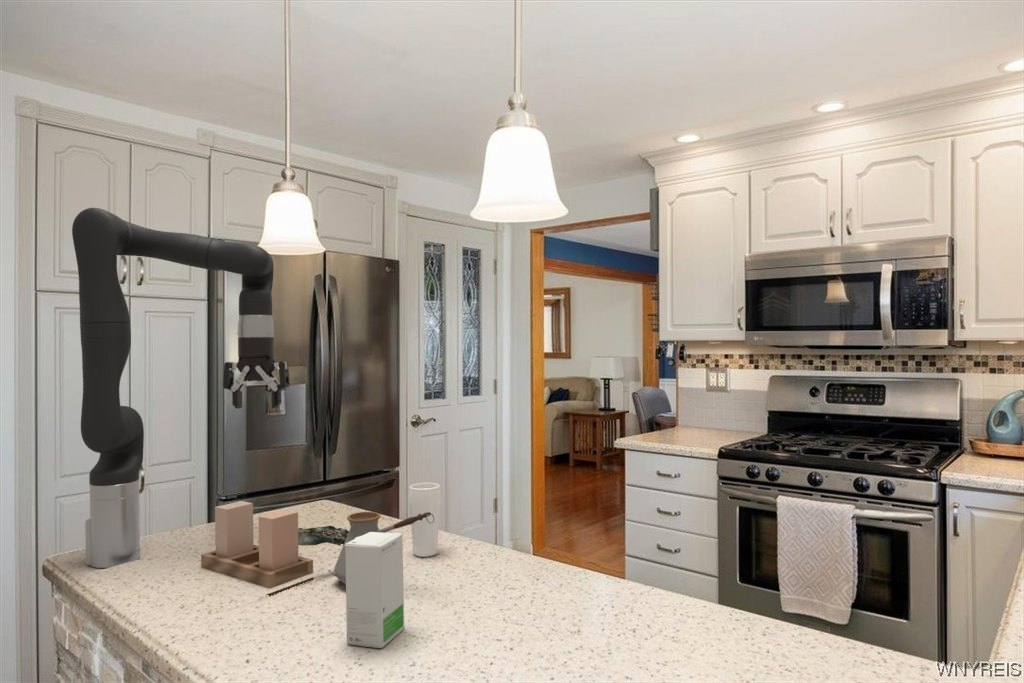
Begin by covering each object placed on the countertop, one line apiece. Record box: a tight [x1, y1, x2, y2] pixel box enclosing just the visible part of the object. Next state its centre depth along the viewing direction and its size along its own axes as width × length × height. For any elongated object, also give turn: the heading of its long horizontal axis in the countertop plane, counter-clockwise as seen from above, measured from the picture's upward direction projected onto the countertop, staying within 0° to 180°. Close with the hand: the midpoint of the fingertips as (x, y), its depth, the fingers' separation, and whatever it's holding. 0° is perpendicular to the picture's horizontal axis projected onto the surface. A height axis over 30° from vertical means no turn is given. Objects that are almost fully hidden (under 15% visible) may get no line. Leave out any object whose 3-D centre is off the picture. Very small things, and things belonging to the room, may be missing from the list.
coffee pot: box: [333, 511, 434, 586], centre depth 129 cm, size 21×12×15 cm, turn 65°
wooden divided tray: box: [200, 544, 314, 597], centre depth 134 cm, size 22×10×4 cm, turn 56°
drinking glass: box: [408, 482, 441, 558], centre depth 148 cm, size 7×7×15 cm
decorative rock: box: [298, 525, 349, 546], centre depth 158 cm, size 19×6×15 cm
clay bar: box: [258, 509, 299, 571], centre depth 130 cm, size 4×6×12 cm, turn 146°
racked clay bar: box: [214, 500, 255, 559], centre depth 138 cm, size 4×6×12 cm, turn 146°
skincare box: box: [345, 532, 405, 649], centre depth 107 cm, size 8×7×16 cm
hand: (256, 408), depth 151 cm, fingers open, 8 cm apart
